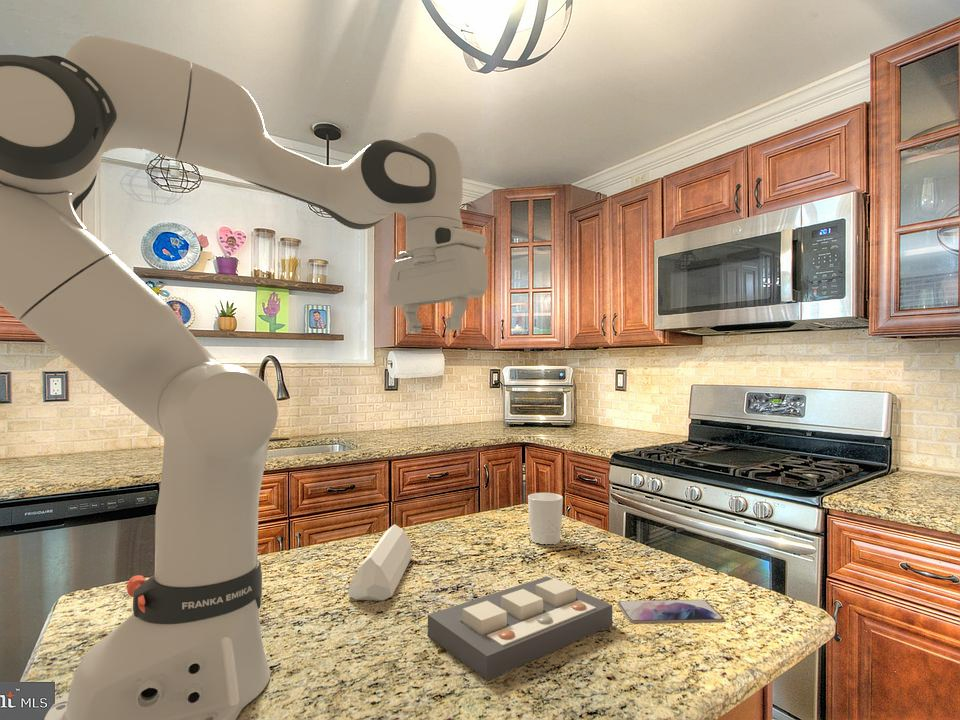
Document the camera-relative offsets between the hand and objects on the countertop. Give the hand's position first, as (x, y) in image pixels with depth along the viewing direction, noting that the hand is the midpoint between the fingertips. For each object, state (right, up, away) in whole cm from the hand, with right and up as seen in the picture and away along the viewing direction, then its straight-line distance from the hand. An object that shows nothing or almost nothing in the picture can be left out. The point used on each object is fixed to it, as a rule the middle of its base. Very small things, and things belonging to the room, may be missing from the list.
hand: (433, 331), depth 82 cm
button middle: (+13, -43, -4) cm, 45 cm away
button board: (+13, -44, -4) cm, 47 cm away
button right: (+19, -43, 0) cm, 47 cm away
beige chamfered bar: (-11, -45, +16) cm, 49 cm away
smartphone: (+37, -45, +2) cm, 59 cm away
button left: (+8, -42, -8) cm, 44 cm away
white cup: (+22, -46, +38) cm, 63 cm away
